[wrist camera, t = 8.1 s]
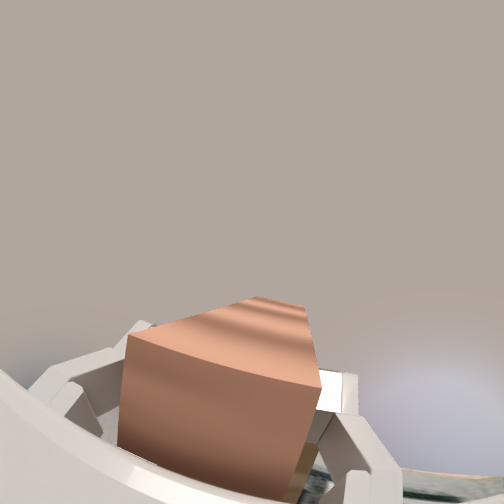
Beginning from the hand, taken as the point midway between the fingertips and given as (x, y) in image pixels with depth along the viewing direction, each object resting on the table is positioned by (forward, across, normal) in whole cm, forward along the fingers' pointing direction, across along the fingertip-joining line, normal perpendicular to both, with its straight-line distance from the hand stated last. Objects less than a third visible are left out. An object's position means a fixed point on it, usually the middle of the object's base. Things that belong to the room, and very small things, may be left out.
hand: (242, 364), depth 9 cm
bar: (+4, 0, +5) cm, 7 cm away
